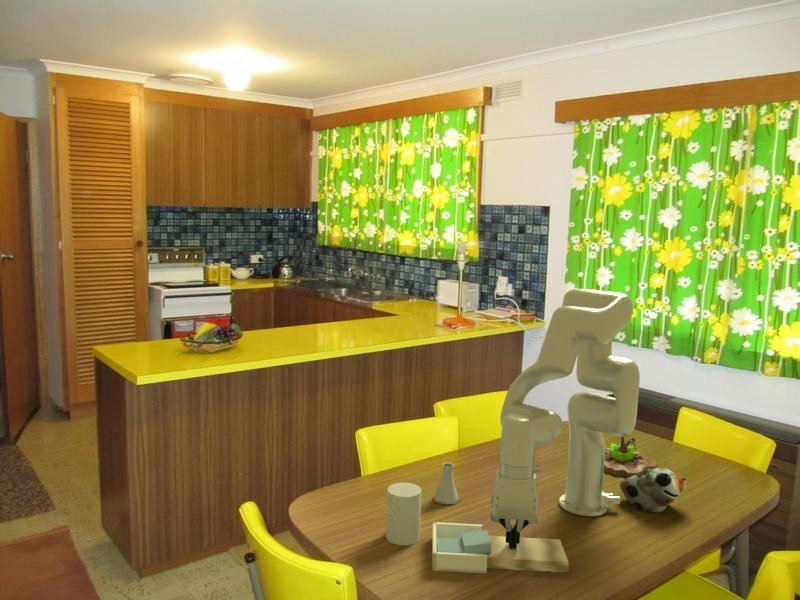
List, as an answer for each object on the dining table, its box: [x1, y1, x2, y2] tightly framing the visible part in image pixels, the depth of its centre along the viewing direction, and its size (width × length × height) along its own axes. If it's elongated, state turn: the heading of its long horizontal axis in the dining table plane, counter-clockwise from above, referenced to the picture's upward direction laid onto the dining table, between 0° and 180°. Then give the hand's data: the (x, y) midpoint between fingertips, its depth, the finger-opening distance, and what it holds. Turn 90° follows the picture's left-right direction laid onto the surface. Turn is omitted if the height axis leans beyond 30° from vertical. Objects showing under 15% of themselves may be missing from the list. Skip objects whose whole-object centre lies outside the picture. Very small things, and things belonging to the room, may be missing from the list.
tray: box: [431, 521, 488, 574], centre depth 148 cm, size 12×15×4 cm
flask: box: [433, 462, 460, 505], centre depth 176 cm, size 7×7×10 cm
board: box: [484, 535, 570, 573], centre depth 147 cm, size 18×10×2 cm, turn 87°
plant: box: [604, 437, 658, 479], centre depth 206 cm, size 20×20×11 cm
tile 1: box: [436, 538, 465, 553], centre depth 147 cm, size 6×6×2 cm
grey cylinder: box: [385, 482, 422, 546], centre depth 155 cm, size 8×8×12 cm
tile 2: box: [461, 529, 492, 554], centre depth 148 cm, size 6×6×2 cm
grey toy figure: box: [619, 467, 688, 513], centre depth 176 cm, size 15×12×14 cm
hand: (512, 545), depth 147 cm, fingers closed
